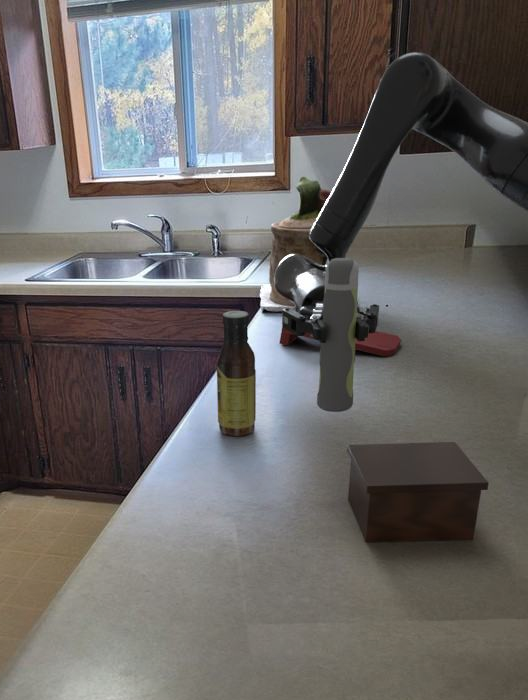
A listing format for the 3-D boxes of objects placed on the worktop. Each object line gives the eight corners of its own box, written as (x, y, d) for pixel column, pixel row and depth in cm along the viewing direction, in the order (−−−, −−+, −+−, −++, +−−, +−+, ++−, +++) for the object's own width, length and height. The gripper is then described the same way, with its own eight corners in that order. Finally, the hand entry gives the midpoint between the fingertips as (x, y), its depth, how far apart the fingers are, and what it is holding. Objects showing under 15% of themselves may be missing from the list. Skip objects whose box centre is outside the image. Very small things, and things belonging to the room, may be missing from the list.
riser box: (447, 495, 100) (455, 441, 96) (479, 541, 89) (488, 482, 86) (343, 498, 100) (347, 444, 97) (362, 544, 90) (367, 485, 86)
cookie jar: (259, 313, 194) (260, 183, 180) (259, 293, 216) (261, 175, 202) (355, 312, 191) (364, 179, 177) (345, 291, 213) (353, 171, 199)
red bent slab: (397, 357, 167) (293, 332, 175) (403, 336, 164) (296, 312, 173) (386, 373, 157) (276, 345, 166) (392, 351, 154) (280, 324, 163)
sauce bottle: (226, 421, 127) (225, 306, 118) (260, 426, 125) (262, 309, 116) (211, 435, 122) (209, 316, 113) (247, 440, 119) (247, 319, 111)
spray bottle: (355, 402, 103) (365, 256, 94) (348, 415, 99) (358, 263, 90) (321, 399, 105) (328, 255, 96) (312, 411, 101) (319, 262, 92)
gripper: (273, 280, 109) (288, 308, 93) (371, 275, 108) (402, 303, 93) (273, 330, 112) (286, 365, 97) (368, 326, 111) (396, 360, 96)
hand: (343, 334), depth 95 cm, fingers closed on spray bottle, 4 cm apart
